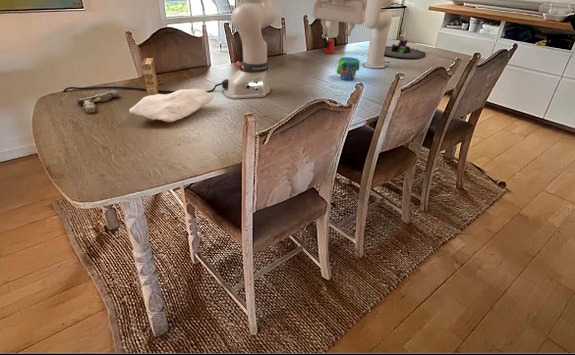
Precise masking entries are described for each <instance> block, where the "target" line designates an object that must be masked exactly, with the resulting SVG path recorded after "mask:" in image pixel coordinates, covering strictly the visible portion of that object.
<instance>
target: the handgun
mask: <svg viewBox="0 0 575 355" xmlns="http://www.w3.org/2000/svg"><path fill="white" fill-rule="evenodd" d="M119 96H120V94H119V92H118V91H117V90H116V89H112V90H108V91H105V92H104V91H103V92H101V93H96V94H94V95H86V94H85V95H84V94H83V95H81V96H80V97H77V98H76V101H77V104H78V105H82V108H83V109H84V110H85V113H87V114H91V113H95V112H96V104H95V103H98V102H106V101H109V100H111V99H113V98H117V97H119Z"/></svg>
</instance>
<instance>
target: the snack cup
mask: <svg viewBox="0 0 575 355" xmlns="http://www.w3.org/2000/svg"><path fill="white" fill-rule="evenodd" d="M338 60H339V62H338V65H337V68H336V74H337V75H340V76H339V77H340V79H342V80H345V81H352V80H354V79H355V77H356V73H357V71H359V70H360V62H361V61H360V59H359V58H356V57H350V56H349V57H348V56H343V57H340V58H338Z"/></svg>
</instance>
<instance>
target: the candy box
mask: <svg viewBox="0 0 575 355" xmlns="http://www.w3.org/2000/svg"><path fill="white" fill-rule="evenodd" d="M141 66H142V73H143V78H144V82H145V87H146V89H147V90H146V92H147V96H150V95H156V94H159V93H160V92H159V91H158V90H159V84H158V79H157V73H156V66H155V62H154V58H153V57H151V58H150V57H149V58H146V57H145V58H143V60H142V63H141Z"/></svg>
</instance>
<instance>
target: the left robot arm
mask: <svg viewBox="0 0 575 355" xmlns="http://www.w3.org/2000/svg"><path fill="white" fill-rule="evenodd" d="M241 2H242V4H241V5H239V6H237V7H235V8H234V9H233V10H232V12H231V14H230V16H231V17H230V20H231V24H232V26H233V28H234V29H235V30H236V31H237V32H238V34H239V37H240V40H241V44H242V59H243V60H242V61H236V62H235V65H236V66H237V67H239V69H237V71H236V72H235V73H234V74H232V75H231V76H230V77H229V78H225V79H223V80H222V81H221V82H220V83H217V84H215V85H214V87H213V88H212V89H209V90H205V91H206V92H208V93H211V92H213V91H215V90H216V88H217V87H219V86H222V89H223V91H222V92H223V94H224V95H225V96H226V97H228V98H230V99H233V100H236V99H237V100H238V99H239V100H240V99H253V98H254V99H255V98H264V97H266V95H268V94H269V93H270V92H271V88H270V84H269V78H268V76H269V75H268V72H269V61H268V44H267V42H266V41H265V40H264V38H263V35H262V29H264V28H268V27H269V26H271V25H272V24H273V23H274V22H275V20H276V17H277V11H276V8H275V6H274V4H272V3H271V2H270V1H269V0H241ZM366 6H367V0H314V1H313V7H312V17H313V19H318V20H320V24H321V27H322V32H323V33H324V32H326V33H327V32H328V29H329V27H327V26H326V23H325V22H327V20H331V21H338V22H340V23H346V24H348V27H349V28H348V29H347V30H345V34H344V35H345V37H351V35H352V31H353V29H354V28H355V27H356V25H362V24H365V14H366ZM96 89H99V90H100V89H124V90H126V89H128V90H139V91H147V88H145V87H137V86H136V87H135V86H119V85H117V86H116V85H115V86H113V85H109V86H108V85H107V86H106V85H105V86H87V87H79V86H69V87H65V88H64V89H63V90H62V93H65V92H67V91H68V90H96ZM158 91H159V92H158V93H167V94H171V93H173V92H175V91H176V90H165V89H164V90H163V89H158Z"/></svg>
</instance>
